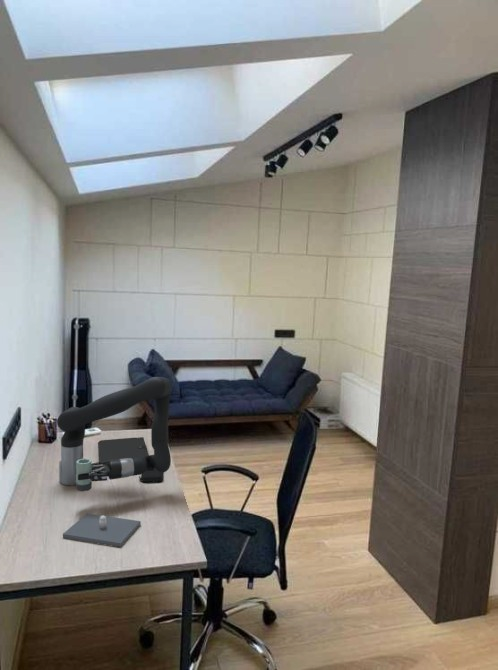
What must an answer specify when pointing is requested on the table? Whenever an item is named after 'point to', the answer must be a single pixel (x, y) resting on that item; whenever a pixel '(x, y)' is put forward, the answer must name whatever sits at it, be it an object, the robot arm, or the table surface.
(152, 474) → the carrying case or bag
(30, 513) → the table surface
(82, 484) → the sleeve
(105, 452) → the dark grey book
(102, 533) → the pin board
